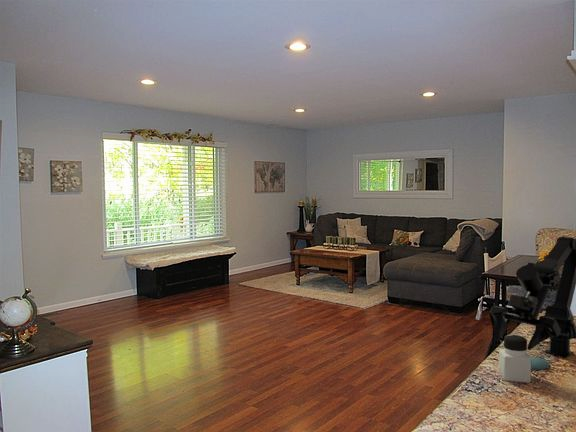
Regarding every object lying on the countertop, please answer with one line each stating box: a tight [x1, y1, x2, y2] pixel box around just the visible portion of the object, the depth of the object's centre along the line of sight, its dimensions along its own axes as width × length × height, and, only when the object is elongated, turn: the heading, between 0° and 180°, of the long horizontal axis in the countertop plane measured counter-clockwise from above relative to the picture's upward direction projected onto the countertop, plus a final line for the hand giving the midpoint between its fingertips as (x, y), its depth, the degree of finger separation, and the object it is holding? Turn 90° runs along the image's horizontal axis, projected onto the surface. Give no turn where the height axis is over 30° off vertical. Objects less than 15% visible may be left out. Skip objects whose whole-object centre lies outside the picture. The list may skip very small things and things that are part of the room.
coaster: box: [529, 355, 550, 371], centre depth 151 cm, size 10×10×1 cm
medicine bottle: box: [498, 334, 532, 384], centre depth 140 cm, size 7×7×12 cm
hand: (512, 344), depth 139 cm, fingers open, 9 cm apart
